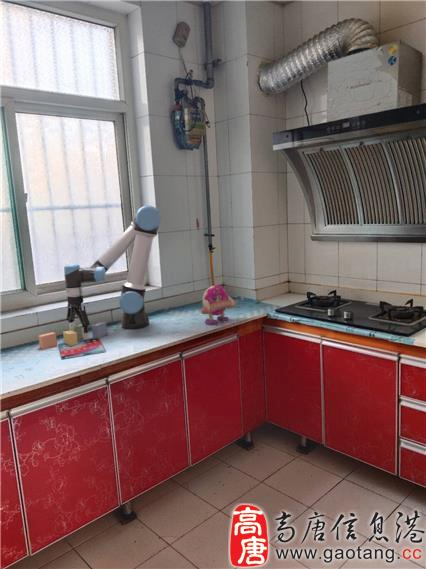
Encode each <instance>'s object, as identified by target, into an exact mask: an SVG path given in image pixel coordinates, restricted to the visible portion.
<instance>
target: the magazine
mask: <svg viewBox="0 0 426 569" xmlns="http://www.w3.org/2000/svg"><path fill="white" fill-rule="evenodd" d="M57 346H58V351H59V354H60V358H61V359H60V360H62V361H63V360H64V361H65V360H68V359H69V360H70V359H75V358H81V357H87V356H92V355H98V354H103V353H107V350H106V349H105V347H104V344H103V343H102V341H101V340H100V337H98V338H96V337H92V338H89V339H85V340H83V339H82V340H78V344H76V345H72V346H70V345H68V344H65V343H64V342H63V343H57Z"/></svg>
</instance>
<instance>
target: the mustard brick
mask: <svg viewBox="0 0 426 569" xmlns="http://www.w3.org/2000/svg"><path fill="white" fill-rule="evenodd" d="M62 333H63V343H65V344H68V345H70V346H72V345H76V344H78V341H79V339H77V333H76V332H73V331H70V329H69V330H67V331H63V332H62Z"/></svg>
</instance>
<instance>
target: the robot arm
mask: <svg viewBox="0 0 426 569" xmlns="http://www.w3.org/2000/svg"><path fill="white" fill-rule="evenodd" d="M161 216H162V215H161V214H160V211H159V210H158V208H156V207H155V206H153V205H143V206H142V207H140V208H139V209H138V210H137V212H136V214H135V217H134V218H133V219H132V220H131V221H130V225H129V226H128V227H127V228H126V230H125V231H124V232H122V233H121V235H120V236H119V237H118V238H117V239H116V240H115V241H114V242H113V243H112V244H111V245H110V246H109V247H108V248H107V249H106V250H105V251H104V253H103V254H102V255H100V257H98V259H97V260H96V261H95V262H94V263H93V264H92V265H91V266H90V267H89V266H88V267H81V266H80V264H78V263H73V264H72V263H71V264H65V265H64V269H63V270H64V281H65V282H64V283H65V292H66V299H67V311H66V321H67V322H68V323H69V324H68V325H69V330H70V331H71V328H70V327H72V326H76V322H75V321H76V316H77V317H78V319H79V321H80V323H81V324H82V334H83V338H82V340H86V339H90V336H89V327H88V326H91V323H90V320H89V318H88V315H87V311H86V307H85V306H84V305H82V304H83V303H84V295H83V294H84V293H83V284H87V283H89V284H90V283H102V282H105V281H107V280H106V279H107V272H108V271H109V270H110V268H111V267H112V266H114V265H115V264H116V262H117V261H118V260H119V259H120V258H121V257H122V256H123V255H124V254H126V253H127V251H128V250H129V248H131V247H133V248H132V252H131V253H132V254H131V257H130V264H129V269H128V271H127V272H128V274H127V277H126V278H127V279H126V281H125V282H124V283H123V284H120V285H121V286H120V291H121V292H120V298H119V300H118V303H119V304H118V305H119V307H120V309H121V310H122V311H123V312H122V316H121V320H120V321H121V322H120V325H121V326H120V327H121V328H122V329H126V330H135V329H141V328H146V327H148V326H149V325H150V319H149V317H148V316H149V315H148V314H147V312H146V307H145V295H146V292H147V291H146V289H147V288H146V286H145V279H146V275H147V271H148V270H147V269H148V266H149V260H150V256H151V250H152V245H153V241H154V238H156V237H157V235H158V231H159V227H160V223H161V221H162V220H161V219H162V218H161ZM132 245H133V246H132Z"/></svg>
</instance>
